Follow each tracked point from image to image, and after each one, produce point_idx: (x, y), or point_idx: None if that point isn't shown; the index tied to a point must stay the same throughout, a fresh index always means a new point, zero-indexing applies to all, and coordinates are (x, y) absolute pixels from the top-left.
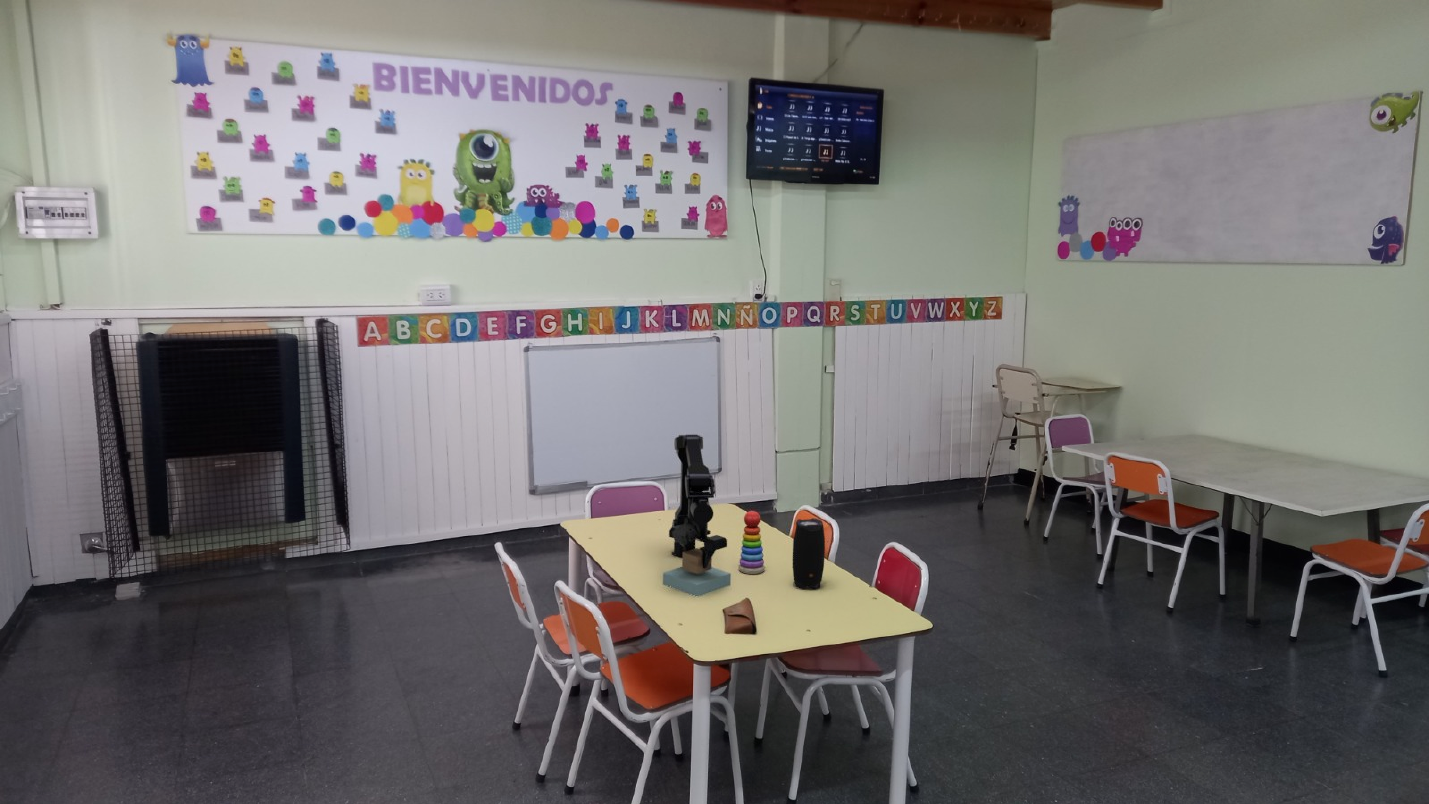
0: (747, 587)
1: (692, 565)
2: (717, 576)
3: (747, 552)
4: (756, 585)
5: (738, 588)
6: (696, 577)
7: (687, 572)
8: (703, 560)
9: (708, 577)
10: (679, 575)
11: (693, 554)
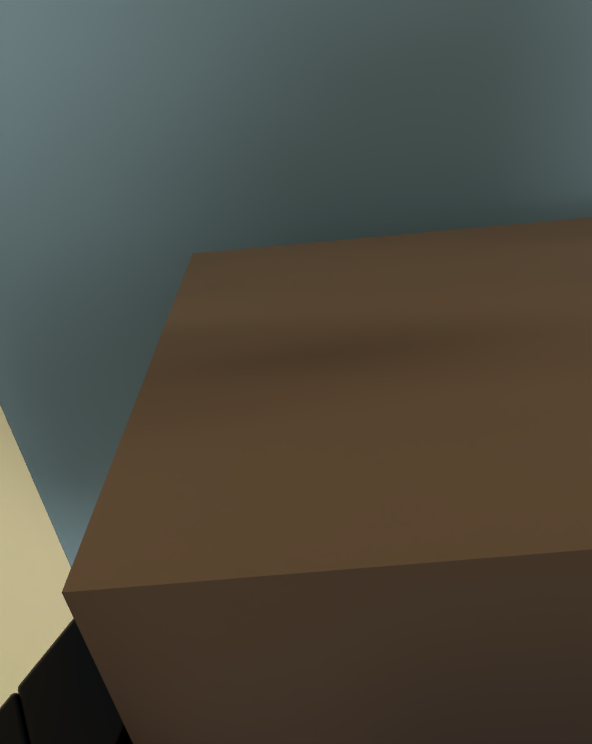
0: (7, 596)
1: (363, 311)
2: (88, 506)
3: None
4: (20, 656)
5: (19, 538)
6: (233, 239)
7: None
8: None
9: (116, 395)
10: (573, 21)
11: (547, 670)
